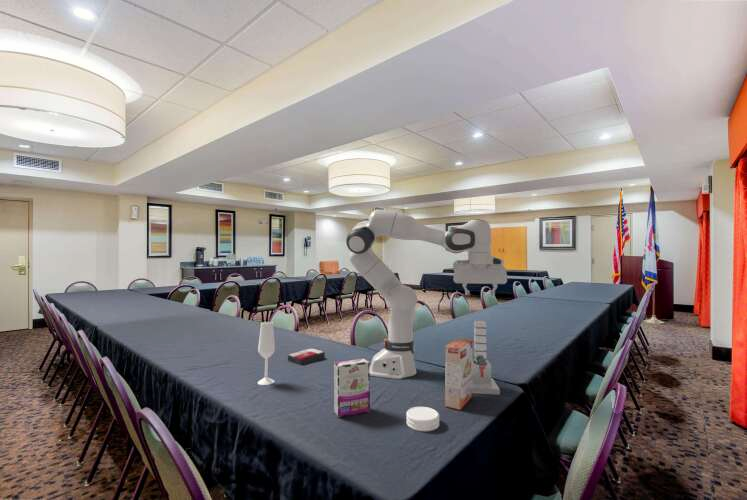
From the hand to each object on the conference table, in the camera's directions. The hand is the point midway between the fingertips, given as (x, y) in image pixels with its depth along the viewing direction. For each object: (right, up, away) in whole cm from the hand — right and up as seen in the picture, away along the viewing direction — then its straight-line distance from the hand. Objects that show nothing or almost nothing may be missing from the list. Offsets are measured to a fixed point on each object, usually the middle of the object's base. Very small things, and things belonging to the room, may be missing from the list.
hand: (479, 295), depth 136 cm
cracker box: (-12, -36, -15) cm, 41 cm away
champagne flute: (-86, -36, +5) cm, 94 cm away
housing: (0, -36, -1) cm, 36 cm away
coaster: (-27, -36, -31) cm, 54 cm away
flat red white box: (-76, -38, +37) cm, 93 cm away
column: (0, -31, -1) cm, 31 cm away
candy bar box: (-49, -36, -23) cm, 65 cm away
